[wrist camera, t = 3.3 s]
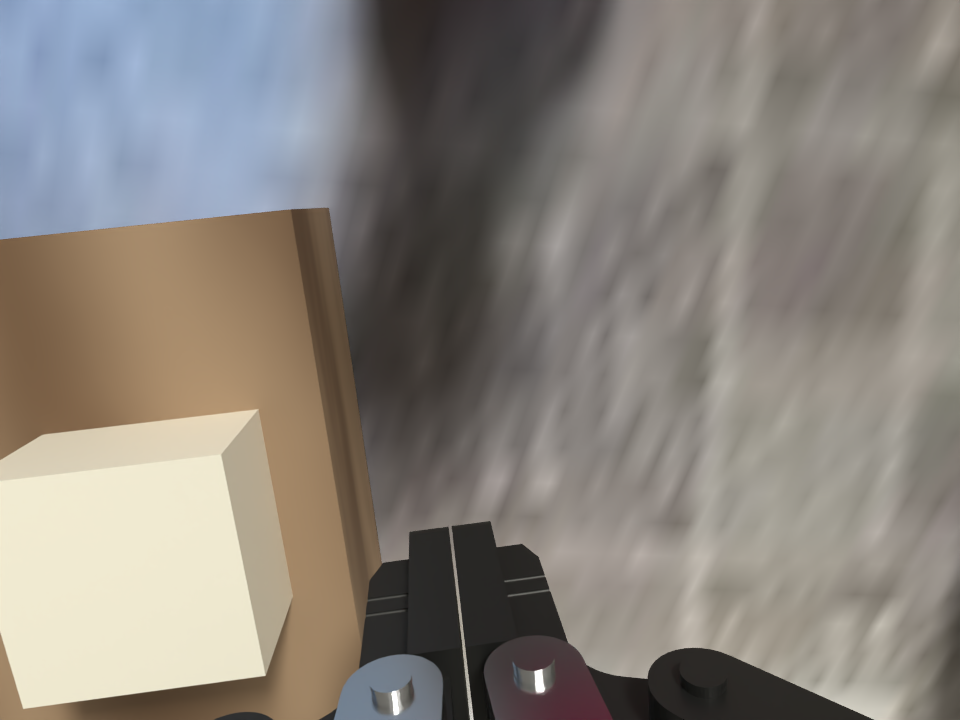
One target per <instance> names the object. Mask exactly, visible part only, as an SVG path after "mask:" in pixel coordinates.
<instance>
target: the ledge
mask: <svg viewBox="0 0 960 720" xmlns="http://www.w3.org/2000/svg"><path fill="white" fill-rule="evenodd" d="M256 409H258V410H259V416H260V421H261V426H262V432H263V437H264V443H265V448H266V453H267V459H268V464H269V470H270V475H271V481H272V486H273V491H274V497H275V502H276V508H277V513H278V518H279V524H280V529H281V535H282V540H283V545H284V551H285V556H286V562H287V567H288V573H289V578H290V583H291V589H292V594H293V598H292V600H291V603H290V606H289V609H288V612H287V615H286V618H285V621H284V624H283V627H282V629H281V632H280V635H279V638H278V641H277V644H276V647H275V650H274V653H273V656H272V659H271V661H270V664H269V667H268V670H267V673H266V676H260V677H253V678H246V679H238V680H231V681H224V682H216V683H209V684H202V685H194V686H187V687H180V688H172V689H165V690H158V691H151V692H143V693H136V694H129V695H121V696H114V697H107V698H99V699H92V700H85V701H77V702H70V703H63V704H55V705H48V706H41V707H34V708H26V709H23V706H22V703H21V700H20V696H19V693H18V690H17V686H16V683H15V680H14V676H13V673H12V670H11V666H10V663H9V660H8V656H7V653H6V650H5V646H4V643H3V640H2V636H1V633H0V720H214V719H216V718H219V717H222V716H225V715H228V714H233V713H239V712H256V713H261V714H264V715H267V716H269V717H270V718H272V719H273V720H319V719H321V718H322V717H324V716H326V715H328V714H329V713H331V712H332V711H333V710H335V709H336V708H337V706H338V702H339V698H340V694H341V691H342V689H343V686H344V685H345V683H346V681H347V680H348V679H349V678H350V677H351V675H352V674H354V673H355V672H356V671H357V670H358V669H359V664H360V656H361V648H362V639H363V631H364V623H365V618H366V606H367V602H368V599H367V598H368V589H369V581H370V579H371V578H372V576H373V575H374V574H375V573H376V571H377V570H378V569H379V567H380V566H381V565H382V562H381V555H380V548H379V542H378V535H377V528H376V522H375V515H374V508H373V501H372V495H371V488H370V481H369V475H368V468H367V461H366V455H365V448H364V441H363V434H362V428H361V421H360V414H359V408H358V401H357V394H356V387H355V381H354V374H353V367H352V361H351V354H350V347H349V341H348V334H347V327H346V320H345V314H344V307H343V300H342V294H341V287H340V280H339V273H338V267H337V260H336V253H335V247H334V240H333V233H332V227H331V220H330V213H329V208H314V209H292V210H281V211H272V212H262V213H253V214H243V215H233V216H224V217H214V218H204V219H195V220H185V221H175V222H166V223H156V224H147V225H137V226H127V227H118V228H108V229H98V230H89V231H79V232H69V233H60V234H50V235H41V236H31V237H21V238H12V239H2V240H0V460H1V459H3V458H5V457H6V456H8V455H10V454H11V453H13V452H15V451H16V450H18V449H20V448H21V447H23V446H25V445H26V444H28V443H30V442H31V441H33V440H35V439H36V438H38V437H40V436H41V435H44V434H52V433H61V432H69V431H78V430H86V429H95V428H103V427H112V426H120V425H129V424H137V423H146V422H154V421H163V420H171V419H180V418H188V417H197V416H205V415H214V414H222V413H231V412H239V411H248V410H256Z"/></svg>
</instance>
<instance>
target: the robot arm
mask: <svg viewBox="0 0 960 720" xmlns="http://www.w3.org/2000/svg"><path fill="white" fill-rule="evenodd" d="M452 532H453V541H454V550H455V559H456V568H457V577H458V585H459V594H460V603H461V612H462V621H463V630H464V639H465V648H466V656H467V665H468V674H469V682H470V691H471V700H472V708H473V717H474V720H873V719H871V718H869V717H867V716H864V715H862V714H860V713H858V712H855V711H853V710H851V709H849V708H846V707H844V706H842V705H840V704H837V703H835V702H833V701H831V700H828V699H826V698H824V697H822V696H819V695H817V694H815V693H813V692H810V691H808V690H806V689H804V688H801V687H799V686H797V685H795V684H792V683H790V682H788V681H786V680H783V679H781V678H779V677H777V676H774V675H772V674H770V673H768V672H765V671H763V670H761V669H759V668H756V667H754V666H752V665H750V664H748V663H745V662H743V661H741V660H739V659H736V658H734V657H732V656H730V655H727V654H724V653H722V652H718V651H714V650H710V649H703V648H684V649H679V650H675V651H672V652H669V653H667V654H665V655H663V656H661V657H660V658H658V659H657V660H656V661H655V662H654V663H653V664H652V666H651V668H650V670H649V673H648V679H642V678H631V677H621V676H614V675H610V674H606V673H603V672H600V671H598V670H595V669H593V668H591V667H589V666H587V665H586V663H585V661H584V659H583V657H582V656H581V654H580V653H579V651H578V650H577V649H576V648H575V647H573V646H572V645H570V644H569V643H568V641H567V638H566V635H565V633H564V630H563V627H562V624H561V621H560V618H559V615H558V612H557V609H556V606H555V604H554V601H553V598H552V595H551V592H550V591H549V586H548V583H547V580H546V577H545V576H544V572H543V569H542V566H541V563H540V560H539V557H538V556H536V555H535V554H534V553H533V552H531V551H530V550H529V549H528V548H526V547H525V546H524V545H523V544H519V545H511V546H504V547H496V543H495V539H494V535H493V530H492V526H491V522H490V521H488V522H480V523H473V524H465V525H457V526H452ZM367 599H368V602H367V606H366V618H365V623H364V631H363V639H362V648H361V656H360V664H359V669H358V670H357V671H356V672H355V673H354V674H352V675H351V677H350V678H349V679H348V680H347V681H346V683H345V685H344V686H343V689H342V691H341V694H340V698H339V702H338V706H337V708H336V709H335V710H333V711H332V712H331V713H329V714H328V715H326V716H324V717H322V718H321V719H319V720H470V716H469V707H468V697H467V688H466V678H465V669H464V659H463V650H462V640H461V631H460V622H459V613H458V604H457V596H456V587H455V579H454V570H453V562H452V553H451V544H450V536H449V528H448V527H443V528H436V529H428V530H420V531H413V532H410V533H409V559H408V560H401V561H393V562H386V563H383V564H382V565H381V566H380V567H379V569H378V570H377V571H376V573H375V574H374V575H373V576H372V578H371V579H370V581H369V589H368V598H367ZM214 720H273V719H272V718H270V717H269V716H267V715H264V714H261V713H256V712H239V713H233V714H228V715H225V716H222V717H219V718H216V719H214Z"/></svg>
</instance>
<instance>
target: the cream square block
mask: <svg viewBox="0 0 960 720" xmlns="http://www.w3.org/2000/svg"><path fill="white" fill-rule="evenodd" d="M292 598H293V594H292V589H291V583H290V578H289V573H288V567H287V562H286V556H285V551H284V545H283V540H282V535H281V529H280V524H279V518H278V513H277V508H276V502H275V497H274V491H273V486H272V481H271V475H270V470H269V464H268V459H267V453H266V448H265V443H264V437H263V432H262V426H261V421H260V416H259V410H258V409H256V410H248V411H239V412H231V413H222V414H214V415H205V416H197V417H188V418H180V419H171V420H163V421H154V422H146V423H137V424H129V425H120V426H112V427H103V428H95V429H86V430H78V431H69V432H61V433H52V434H44V435H41V436H40V437H38V438H36V439H35V440H33V441H31V442H30V443H28V444H26V445H25V446H23V447H21V448H20V449H18V450H16V451H15V452H13V453H11V454H10V455H8V456H6V457H5V458H3V459H1V460H0V633H1V636H2V640H3V643H4V646H5V650H6V653H7V656H8V660H9V663H10V666H11V670H12V673H13V676H14V680H15V683H16V686H17V690H18V693H19V696H20V700H21V703H22V706H23V709H26V708H34V707H41V706H48V705H55V704H63V703H70V702H77V701H85V700H92V699H99V698H107V697H114V696H121V695H129V694H136V693H143V692H151V691H158V690H165V689H172V688H180V687H187V686H194V685H202V684H209V683H216V682H224V681H231V680H238V679H246V678H253V677H260V676H266V673H267V670H268V667H269V664H270V661H271V659H272V656H273V653H274V650H275V647H276V644H277V641H278V638H279V635H280V632H281V629H282V627H283V624H284V621H285V618H286V615H287V612H288V609H289V606H290V603H291V600H292Z"/></svg>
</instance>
